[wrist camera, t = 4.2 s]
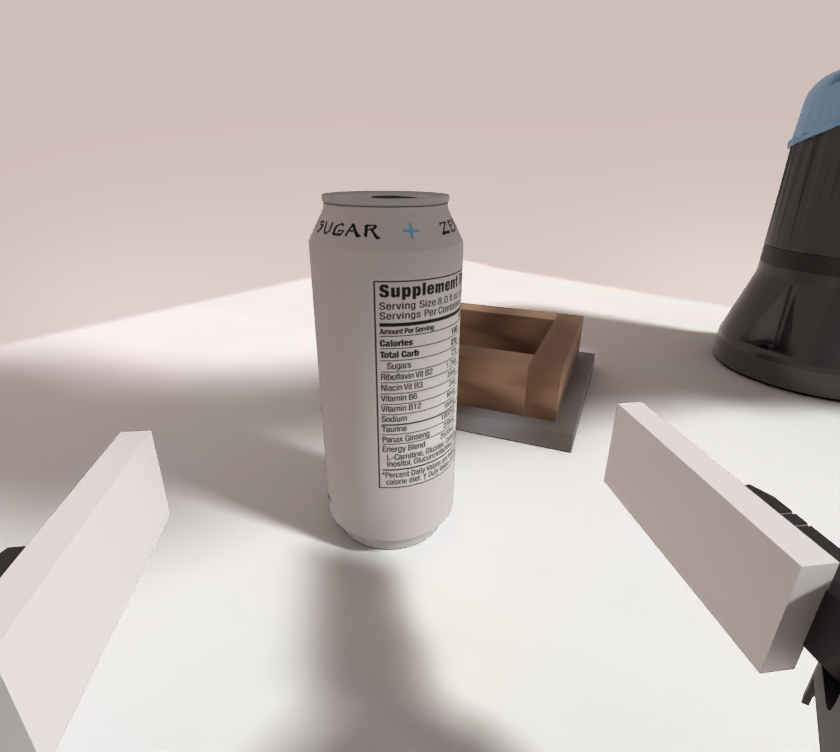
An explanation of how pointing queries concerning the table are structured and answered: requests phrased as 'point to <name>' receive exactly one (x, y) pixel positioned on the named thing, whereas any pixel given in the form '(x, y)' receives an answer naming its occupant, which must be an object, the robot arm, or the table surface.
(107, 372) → the table surface
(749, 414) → the table surface
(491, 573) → the table surface
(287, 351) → the table surface
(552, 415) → the brown wooden open box
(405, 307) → the energy drink can
